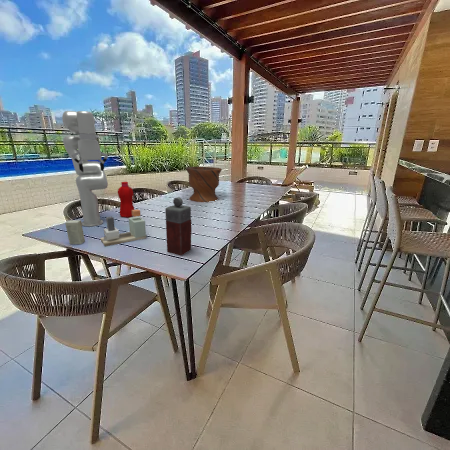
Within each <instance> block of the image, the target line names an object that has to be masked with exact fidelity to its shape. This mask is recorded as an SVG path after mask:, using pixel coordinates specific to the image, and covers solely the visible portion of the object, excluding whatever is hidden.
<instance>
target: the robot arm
mask: <svg viewBox="0 0 450 450" xmlns="http://www.w3.org/2000/svg"><path fill="white" fill-rule="evenodd" d="M61 119H62V124H63V125H64V128H66V129H67V130H68V131H69V132H70V133H72V134H69V135H66V136H64V137H63V140H62V141H63V146H64V149H65V151H66V153H67V154H68V156H69V157H70V159H71V160H72V165H73V168H74V171H75V174H76V175H77V177H76V178H75V183H76V188H77V190H78V194H79V199H80V204H81V211H82V217H83V219H82V220H83V221H81V223H82V227H97V226H100V225H102V224H103V223H104V220H102V219H101V217H100V209H99V202H98V201H99V200H98V196H97V194H95V193H94V192H93V191H95V190H96V191H97V190H100V191H101V190H106V189H107V188H108V186H109V185H108V184H109V183H108V179H107V176H106V173H105V165H104V164H105V163H106V162H107V160H108V157H109V155H108V154H106V153H104V152H103V151H101V148H100V147H101V146H100V144H99V141H98V139H100V136H99V135H98V134H96V127H95V124H96V120H95V116H94V114H93V113H92V111H91V112H90V111H85V110H79V111H76V110H75V111H73V110H65V111H64V112H63V114H62V116H61ZM102 156H103V157H104V158H103V159H102Z"/></svg>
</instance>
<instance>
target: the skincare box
mask: <svg viewBox="0 0 450 450" xmlns="http://www.w3.org/2000/svg"><path fill="white" fill-rule="evenodd" d="M64 224H65V228H66V233H67V237H68V238H67V239H68V242H69V244H70V245H83V243H85V241H86V239H85V233H84V228H83V225H82V220H81V219H78V220H77V219H76V220H73V219H72V220H71V219H70V220H67V221H66V222H64Z"/></svg>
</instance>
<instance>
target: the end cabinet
mask: <svg viewBox="0 0 450 450" xmlns="http://www.w3.org/2000/svg"><path fill="white" fill-rule="evenodd" d="M128 226H129V232H131V234H132V235H133V236H134V237H135V238H137V237H142V236H146V237H147V234H146V233H147V230H146V221H145V219H143V218H141V216H136V217H134V216H132V217H129V218H128Z"/></svg>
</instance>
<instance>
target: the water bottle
mask: <svg viewBox="0 0 450 450" xmlns="http://www.w3.org/2000/svg"><path fill="white" fill-rule="evenodd" d="M117 196H118V198H119V202H120V207H119V216H120V217H121V218H127V219H129V218H132V217H133V216H132V210H136V209H135V207H134V204H133V199H134V197H135V196H134V191H133V188H132V186H130V185H129V182H128V181H121V186H120V187H119V188H118V190H117Z"/></svg>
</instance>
